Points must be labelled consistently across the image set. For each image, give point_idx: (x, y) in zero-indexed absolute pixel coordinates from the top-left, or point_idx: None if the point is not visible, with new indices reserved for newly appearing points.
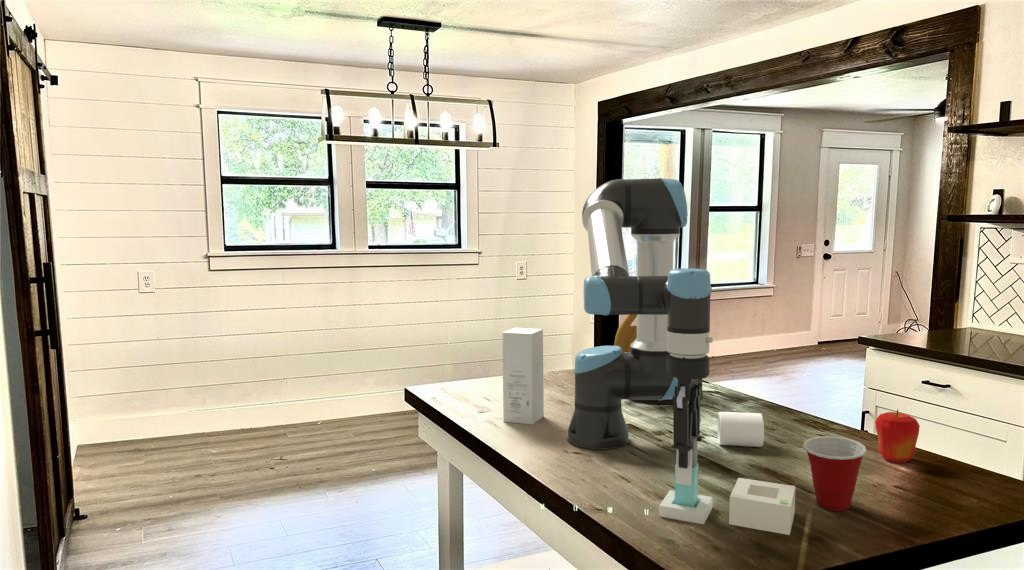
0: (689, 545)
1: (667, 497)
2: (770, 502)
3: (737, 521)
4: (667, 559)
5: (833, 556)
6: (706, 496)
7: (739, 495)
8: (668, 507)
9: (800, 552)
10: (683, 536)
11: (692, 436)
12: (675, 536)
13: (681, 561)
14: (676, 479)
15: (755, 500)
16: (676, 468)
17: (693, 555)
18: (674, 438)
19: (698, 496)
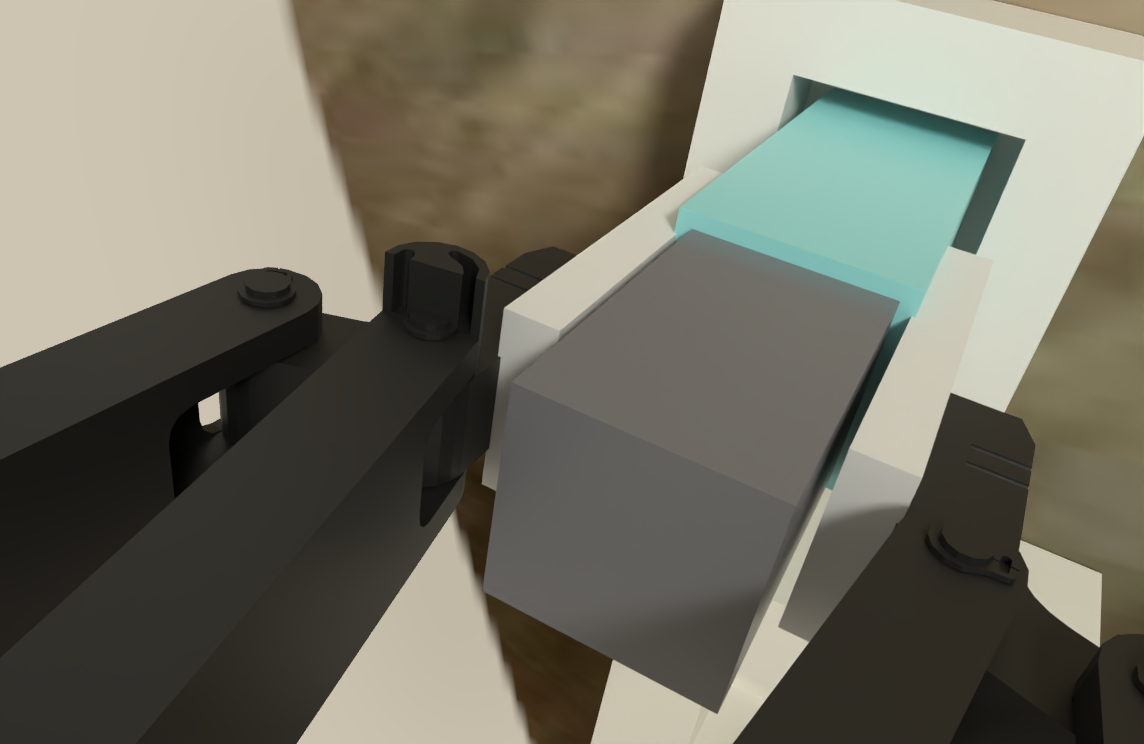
0: (479, 158)
1: (942, 39)
2: (606, 725)
3: None
4: (304, 25)
5: (557, 732)
6: (995, 398)
7: None
8: (715, 48)
9: (557, 640)
10: (578, 131)
11: (702, 652)
12: (565, 78)
13: (313, 101)
14: (688, 180)
15: (615, 663)
16: (635, 216)
17: (386, 169)
18: (123, 334)
19: (993, 333)
